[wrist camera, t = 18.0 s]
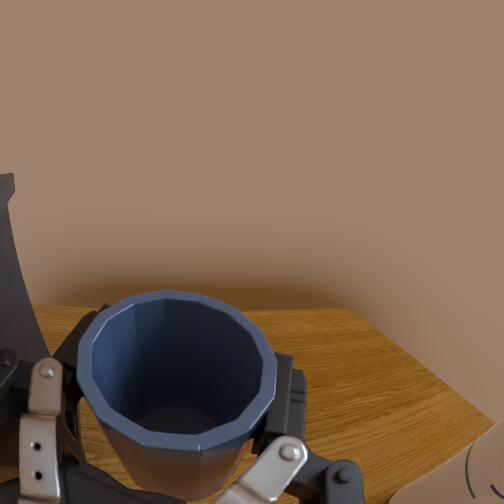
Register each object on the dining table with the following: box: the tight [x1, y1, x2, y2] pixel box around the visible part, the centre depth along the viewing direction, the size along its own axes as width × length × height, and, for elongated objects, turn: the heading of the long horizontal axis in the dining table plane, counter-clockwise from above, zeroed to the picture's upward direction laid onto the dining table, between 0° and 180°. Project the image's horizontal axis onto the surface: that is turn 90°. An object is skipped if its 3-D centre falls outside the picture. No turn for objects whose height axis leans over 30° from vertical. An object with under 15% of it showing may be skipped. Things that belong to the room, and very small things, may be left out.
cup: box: [76, 290, 277, 502], centre depth 11 cm, size 6×6×9 cm
